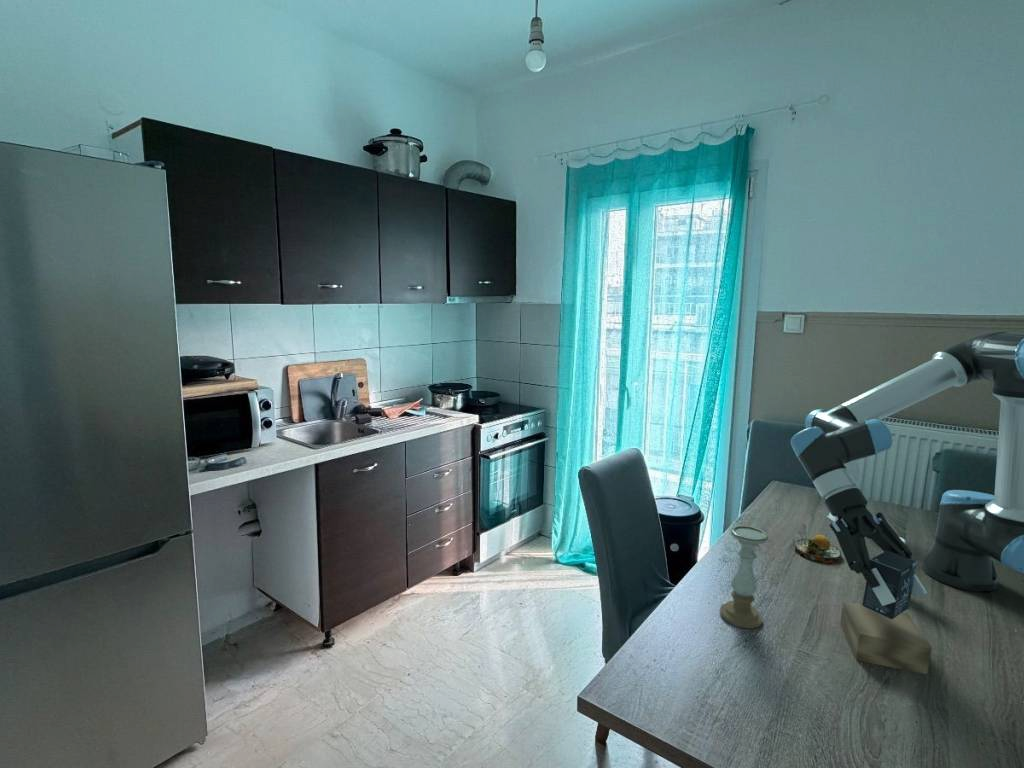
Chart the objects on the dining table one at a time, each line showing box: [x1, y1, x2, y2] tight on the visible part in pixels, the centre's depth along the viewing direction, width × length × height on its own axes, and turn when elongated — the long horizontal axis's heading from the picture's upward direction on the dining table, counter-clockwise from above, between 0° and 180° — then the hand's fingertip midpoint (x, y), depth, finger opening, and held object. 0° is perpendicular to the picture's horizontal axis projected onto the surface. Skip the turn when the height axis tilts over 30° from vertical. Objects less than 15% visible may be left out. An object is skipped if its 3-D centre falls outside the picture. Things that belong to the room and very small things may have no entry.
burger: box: [793, 534, 842, 564], centre depth 151 cm, size 12×12×8 cm
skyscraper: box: [824, 459, 861, 523], centre depth 171 cm, size 8×8×28 cm
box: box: [861, 551, 918, 620], centre depth 108 cm, size 8×6×11 cm
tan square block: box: [839, 601, 933, 675], centre depth 110 cm, size 12×12×6 cm
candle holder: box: [719, 524, 769, 629], centre depth 118 cm, size 9×9×20 cm
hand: (905, 599), depth 105 cm, fingers closed on box, 9 cm apart
